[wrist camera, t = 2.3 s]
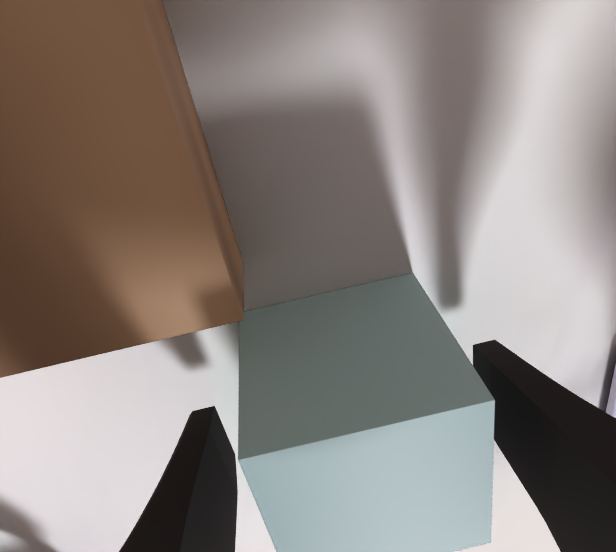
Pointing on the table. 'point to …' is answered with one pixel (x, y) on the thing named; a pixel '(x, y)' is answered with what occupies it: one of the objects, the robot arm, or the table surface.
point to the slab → (104, 187)
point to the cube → (364, 424)
